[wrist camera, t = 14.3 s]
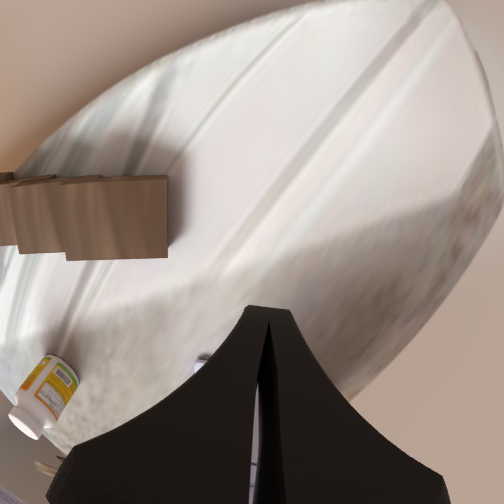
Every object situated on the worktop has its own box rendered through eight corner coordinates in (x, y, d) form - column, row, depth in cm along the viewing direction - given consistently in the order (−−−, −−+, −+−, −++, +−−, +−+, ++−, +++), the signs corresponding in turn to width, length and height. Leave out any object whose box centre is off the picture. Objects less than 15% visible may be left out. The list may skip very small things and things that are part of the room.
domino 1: (47, 178, 17) (-18, 188, 15) (55, 243, 19) (-9, 246, 17) (56, 174, 18) (-9, 183, 16) (62, 235, 20) (0, 239, 18)
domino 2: (95, 178, 17) (9, 187, 15) (101, 250, 19) (19, 254, 17) (100, 174, 18) (18, 183, 16) (105, 241, 20) (27, 245, 18)
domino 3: (166, 179, 16) (57, 185, 15) (167, 257, 18) (66, 260, 17) (167, 175, 18) (65, 180, 16) (167, 248, 20) (73, 250, 18)
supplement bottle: (48, 374, 28) (12, 426, 19) (41, 346, 26) (-4, 401, 17) (82, 392, 28) (48, 450, 19) (77, 365, 26) (35, 428, 17)
